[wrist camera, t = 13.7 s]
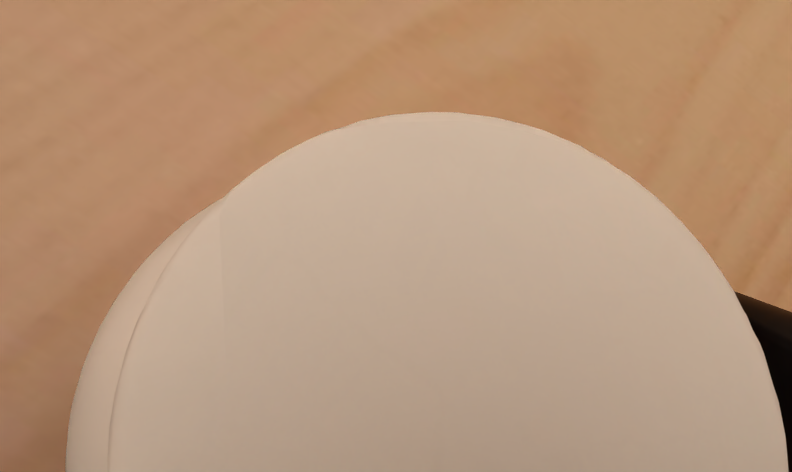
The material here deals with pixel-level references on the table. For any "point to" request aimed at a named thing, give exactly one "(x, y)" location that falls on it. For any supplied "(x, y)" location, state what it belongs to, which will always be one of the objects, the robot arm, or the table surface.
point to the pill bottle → (428, 321)
